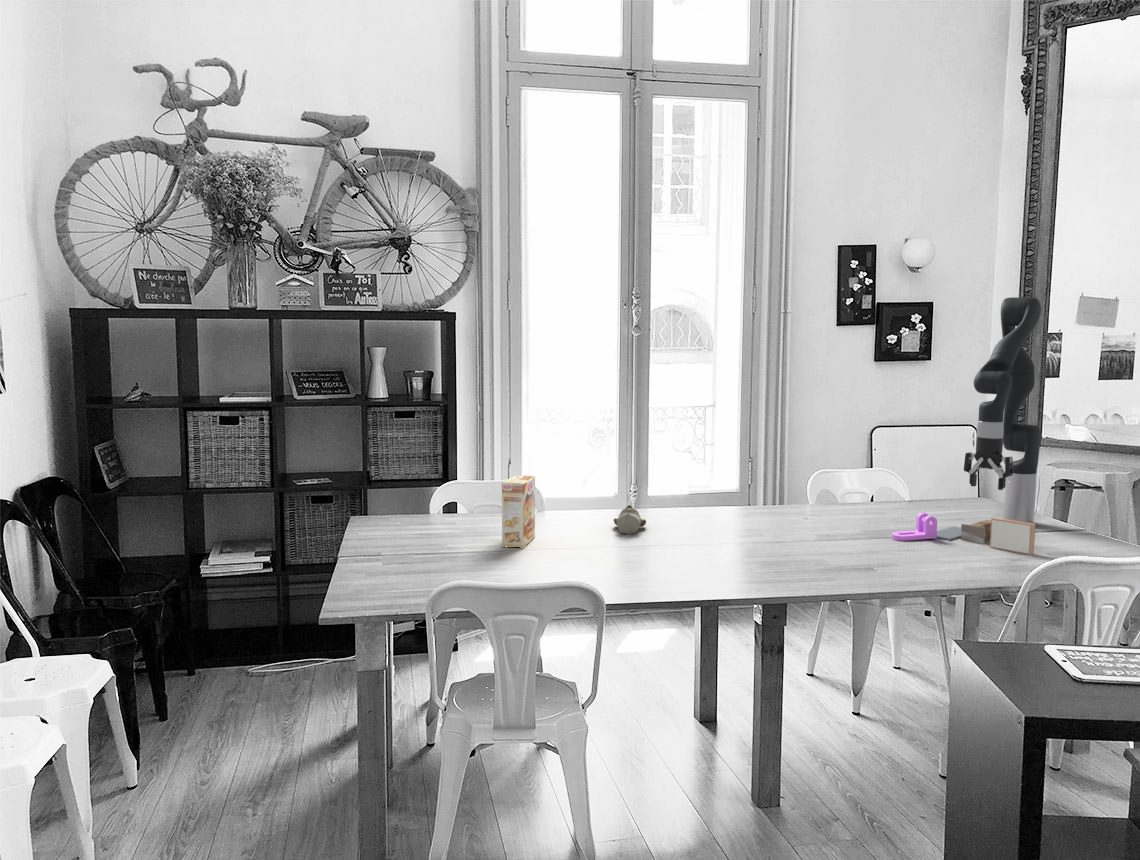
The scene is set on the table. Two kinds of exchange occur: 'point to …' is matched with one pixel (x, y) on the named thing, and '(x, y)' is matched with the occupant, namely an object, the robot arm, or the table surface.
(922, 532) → the bracket
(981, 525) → the upright plank on base
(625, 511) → the ceramic sculpture
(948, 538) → the mat
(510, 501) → the coffeecake box
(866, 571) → the table surface
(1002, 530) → the tile
